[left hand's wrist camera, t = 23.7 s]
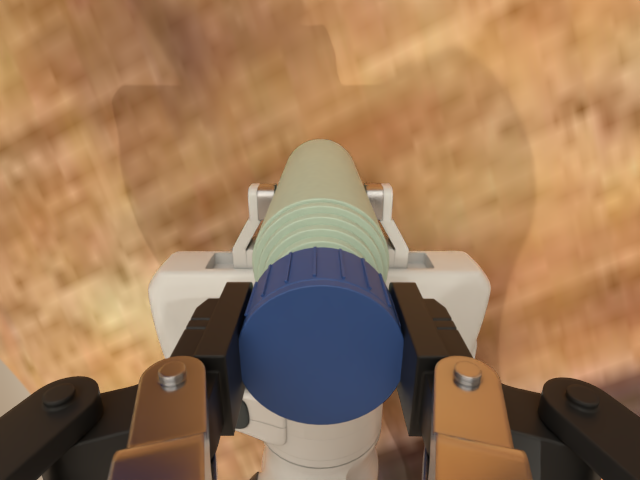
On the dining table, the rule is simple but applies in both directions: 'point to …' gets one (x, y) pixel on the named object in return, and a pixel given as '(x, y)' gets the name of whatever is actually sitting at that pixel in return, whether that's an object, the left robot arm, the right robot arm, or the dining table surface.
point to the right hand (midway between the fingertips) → (319, 185)
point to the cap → (321, 338)
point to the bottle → (320, 210)
